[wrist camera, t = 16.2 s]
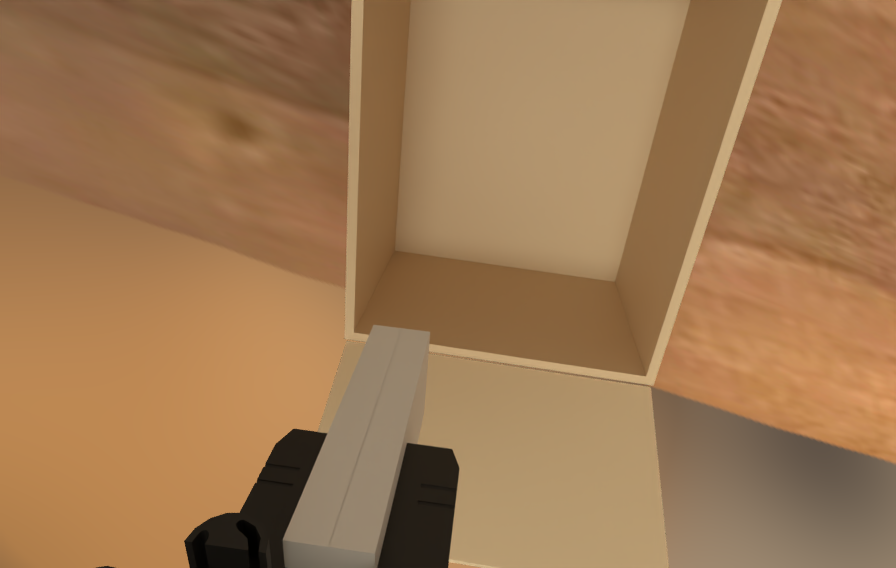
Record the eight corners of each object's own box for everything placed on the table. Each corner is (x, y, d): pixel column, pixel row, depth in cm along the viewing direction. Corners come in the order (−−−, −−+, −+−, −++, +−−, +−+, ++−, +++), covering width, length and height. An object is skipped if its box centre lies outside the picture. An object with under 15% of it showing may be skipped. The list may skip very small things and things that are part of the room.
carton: (407, -69, 38) (353, -100, 26) (707, -36, 37) (799, -52, 25) (389, 253, 49) (344, 338, 37) (619, 285, 48) (653, 385, 36)
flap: (650, 387, 36) (648, 391, 36) (346, 341, 37) (347, 345, 37) (672, 597, 28) (668, 599, 28) (285, 531, 29) (287, 533, 29)
